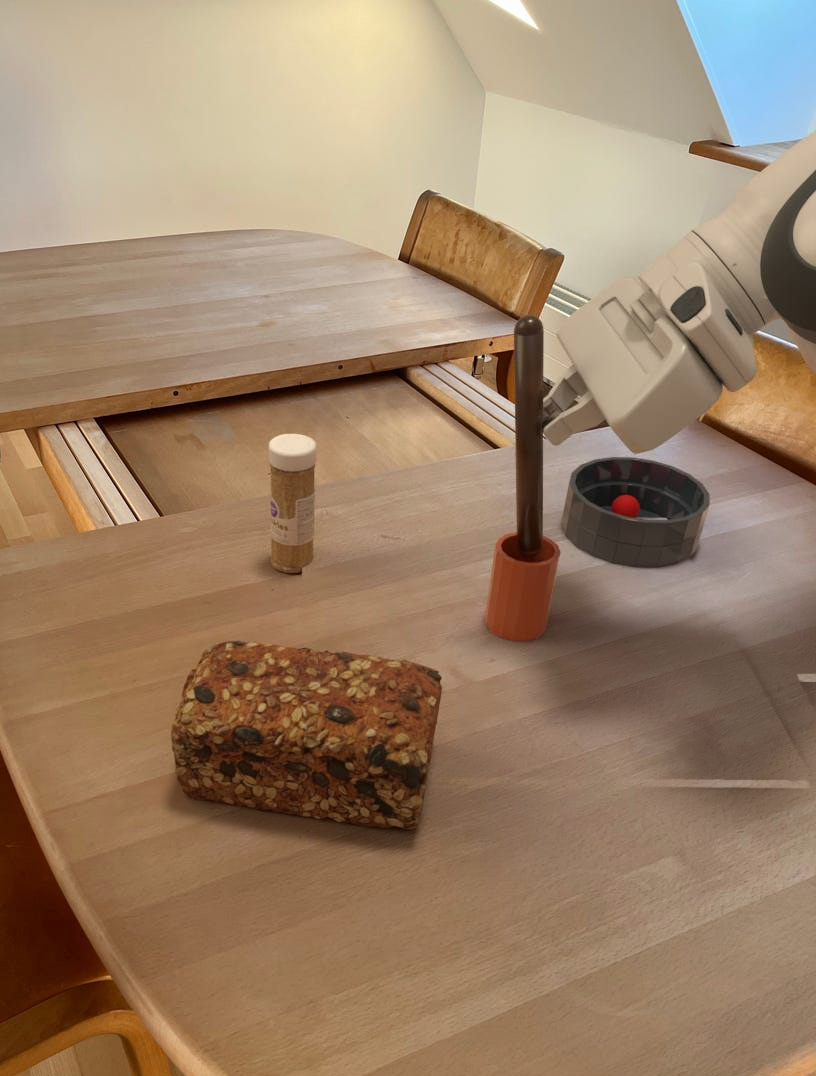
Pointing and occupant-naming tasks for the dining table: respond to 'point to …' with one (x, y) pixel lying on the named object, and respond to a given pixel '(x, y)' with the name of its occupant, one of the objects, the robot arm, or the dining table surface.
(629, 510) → the berry
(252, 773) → the bread
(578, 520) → the bowl
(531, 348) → the stirring stick
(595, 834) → the dining table surface
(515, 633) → the crock
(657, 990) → the dining table surface
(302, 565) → the sprinkles bottle
